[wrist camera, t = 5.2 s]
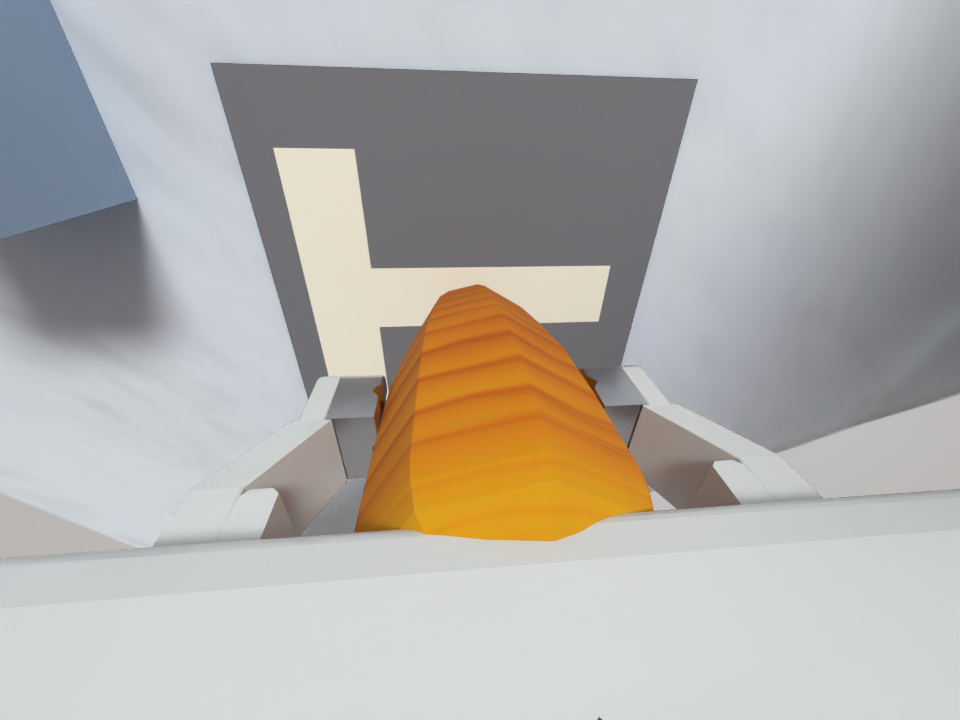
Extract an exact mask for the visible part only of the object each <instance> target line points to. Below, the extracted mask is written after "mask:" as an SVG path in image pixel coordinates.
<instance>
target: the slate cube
mask: <svg viewBox="0 0 960 720" xmlns="http://www.w3.org/2000/svg"><path fill="white" fill-rule="evenodd" d="M136 199H137V197H136V195H135V193H134V190H133V188H132V186H131V183H130V181H129V179H128V177H127V174H126V172H125V170H124V168H123V165H122V163H121V161H120V158H119V156H118V154H117V152H116V149H115V147H114V145H113V143H112V140H111V138H110V136H109V134H108V131H107V129H106V127H105V124H104V122H103V120H102V118H101V115H100V113H99V111H98V109H97V106H96V104H95V102H94V99H93V97H92V95H91V93H90V90H89V88H88V86H87V84H86V81H85V79H84V77H83V74H82V72H81V70H80V68H79V65H78V63H77V61H76V59H75V56H74V54H73V52H72V50H71V47H70V45H69V43H68V40H67V38H66V36H65V34H64V31H63V29H62V27H61V25H60V22H59V20H58V18H57V15H56V13H55V11H54V9H53V6H52V4H51V2H50V0H0V239H3V238H7V237H10V236H13V235H17V234H20V233H24V232H27V231H30V230H34V229H37V228H41V227H44V226H47V225H51V224H54V223H58V222H61V221H64V220H68V219H71V218H75V217H78V216H81V215H85V214H88V213H92V212H95V211H99V210H102V209H105V208H109V207H112V206H116V205H119V204H122V203H126V202H129V201H133V200H136Z"/></svg>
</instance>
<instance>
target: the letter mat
mask: <svg viewBox="0 0 960 720" xmlns="http://www.w3.org/2000/svg"><path fill="white" fill-rule="evenodd" d="M211 67H212V70H213V74H214V77H215V81H216V84H217V87H218V91H219V94H220V98H221V101H222V105H223V108H224V111H225V115H226V118H227V122H228V125H229V129H230V132H231V136H232V139H233V142H234V146H235V149H236V153H237V156H238V160H239V163H240V166H241V170H242V173H243V177H244V180H245V184H246V187H247V190H248V194H249V197H250V201H251V204H252V208H253V211H254V214H255V218H256V221H257V225H258V228H259V232H260V235H261V238H262V242H263V245H264V249H265V252H266V256H267V259H268V262H269V266H270V269H271V273H272V276H273V280H274V283H275V286H276V290H277V293H278V297H279V300H280V304H281V307H282V310H283V314H284V317H285V321H286V324H287V328H288V331H289V335H290V338H291V341H292V345H293V348H294V352H295V355H296V359H297V362H298V365H299V369H300V372H301V376H302V379H303V383H304V386H305V389H306V393H307V396H308V399H309V397H310V395H311V393H312V391H313V389H314V386H315V384H316V382H317V380H318V379H319V378H320V377H327V376H371V375H384V376H385V378H386V384H387V395H386V400H387V396H388V393H389V389H390V387H391V384H392V382H393V380H394V378H395V376H396V374H397V371H398V369H399V367H400V365H401V363H402V361H403V359H404V356H405V355H406V353H407V351H408V349H409V347H410V345H411V344H412V342H413V340H414V338H415V336H416V335H417V333H418V331H419V329H420V328H421V326H422V325H423V323H424V321H425V320H426V318H427V316H428V315H429V313H430V312H431V310H432V308H433V307H434V305H435V304H436V302H437V300H438V299H439V297H440V296H442V295H443V294H445V293H447V292H448V291H451V290H455V289H460V288H464V287H468V286H472V285H476V284H479V285H483V286H486V287H487V288H489V289H491V290H493V291H494V292H496V293H498V294H499V295H501V296H503V297H505V298H506V299H508V300H510V301H511V302H513V303H515V304H517V305H518V306H520V307H522V308H523V309H524V310H525V311H526V312H527V313H528V314H530V315H531V316H532V317H533V318H534V319H535V320H536V321H538V322H539V323H540V324H541V325H542V326H543V327H544V328H545V329H546V330H547V331H548V332H549V333H550V334H551V335H552V336H553V337H554V338H555V339H556V340H557V341H558V342H559V344H560V345H561V346H562V347H563V348H564V349H565V350H566V352H567V353H568V355H569V356H570V358H571V359H572V361H573V362H574V364H575V365H576V367H577V368H578V370H579V369H582V368H602V367H617V366H621V362H622V359H623V355H624V351H625V347H626V344H627V340H628V336H629V333H630V329H631V325H632V322H633V318H634V314H635V310H636V307H637V303H638V299H639V296H640V292H641V288H642V284H643V281H644V277H645V273H646V270H647V266H648V262H649V259H650V255H651V251H652V247H653V244H654V240H655V236H656V233H657V229H658V225H659V221H660V218H661V214H662V210H663V207H664V203H665V199H666V196H667V192H668V188H669V184H670V181H671V177H672V173H673V170H674V166H675V162H676V158H677V155H678V151H679V147H680V144H681V140H682V136H683V133H684V129H685V125H686V121H687V118H688V114H689V110H690V107H691V103H692V99H693V95H694V92H695V88H696V84H697V81H698V79H672V78H643V77H613V76H584V75H555V74H526V73H497V72H467V71H438V70H409V69H380V68H351V67H321V66H292V65H263V64H234V63H211Z"/></svg>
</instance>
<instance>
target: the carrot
mask: <svg viewBox="0 0 960 720" xmlns="http://www.w3.org/2000/svg"><path fill="white" fill-rule="evenodd" d="M647 511H653V506H652V501H651V496H650V491H649V489H648V486H647V484H646V482H645V479H644V477H643V475H642V472H641V470H640V468H639V466H638V465H637V463H636V461H635V460H634V458H633V456H632V455H631V453H630V451H629V450H628V448H627V446H626V445H625V443H624V442H623V440H622V438H621V437H620V435H619V433H618V432H617V430H616V428H615V427H614V425H613V423H612V422H611V420H610V418H609V417H608V415H607V414H606V412H605V410H604V409H603V407H602V405H601V404H600V402H599V400H598V399H597V397H596V395H595V394H594V392H593V391H592V389H591V388H590V386H589V385H588V383H587V382H586V380H585V379H584V377H583V376H582V374H581V373H580V371H579V370H578V368H577V367H576V365H575V364H574V362H573V361H572V359H571V358H570V356H569V355H568V353H567V352H566V350H565V349H564V348H563V347H562V346H561V345H560V344H559V342H558V341H557V340H556V339H555V338H554V337H553V336H552V335H551V334H550V333H549V332H548V331H547V330H546V329H545V328H544V327H543V326H542V325H541V324H540V323H539V322H538V321H536V320H535V319H534V318H533V317H532V316H531V315H530V314H528V313H527V312H526V311H525V310H524V309H523V308H522V307H520V306H518V305H517V304H515V303H513V302H511V301H510V300H508V299H506V298H505V297H503V296H501V295H499V294H498V293H496V292H494V291H493V290H491V289H489V288H487V287H486V286H483V285H479V284H476V285H472V286H468V287H464V288H460V289H455V290H451V291H448V292H447V293H445V294H443V295H442V296H440V297H439V299H438V300H437V302H436V304H435V305H434V307H433V308H432V310H431V312H430V313H429V315H428V316H427V318H426V320H425V321H424V323H423V325H422V326H421V328H420V329H419V331H418V333H417V335H416V336H415V338H414V340H413V342H412V344H411V345H410V347H409V349H408V351H407V353H406V355H405V356H404V359H403V361H402V363H401V365H400V367H399V369H398V371H397V374H396V376H395V378H394V380H393V382H392V384H391V387H390V389H389V393H388V396H387V400H386V404H385V408H384V411H383V415H382V419H381V422H380V426H379V430H378V433H377V437H376V441H375V444H374V449H373V453H372V457H371V462H370V466H369V470H368V475H367V479H366V483H365V488H364V492H363V497H362V501H361V505H360V510H359V514H358V518H357V523H356V527H355V532H369V531H383V530H397V529H410V530H414V531H418V532H421V533H423V534H428V535H443V536H453V537H463V538H473V539H484V540H517V541H557V540H560V539H562V538H565V537H568V536H571V535H574V534H577V533H580V532H581V531H583V530H585V529H586V528H588V527H590V526H591V525H593V524H595V523H597V522H599V521H602V520H604V519H606V518H609V517H613V516H617V515H620V514H625V513H633V512H647ZM597 720H602V719H601V718H600V717H599V718H598V719H597Z"/></svg>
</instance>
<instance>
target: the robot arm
mask: <svg viewBox="0 0 960 720" xmlns="http://www.w3.org/2000/svg"><path fill="white" fill-rule="evenodd" d="M579 371H580V373H581V374H582V376H583V377H584V379H585V380H586V382H587V383H588V385H589V386H590V388H591V389H592V391H593V392H594V394H595V395H596V397H597V399H598V400H599V402H600V404H601V405H602V407H603V409H604V410H605V412H606V414H607V415H608V417H609V418H610V420H611V422H612V423H613V425H614V427H615V428H616V430H617V432H618V433H619V435H620V437H621V438H622V440H623V442H624V443H625V445H626V446H627V448H628V450H629V451H630V453H631V455H632V456H633V458H634V460H635V461H636V463H637V465H638V466H639V468H640V470H641V472H642V475H643V477H644V479H645V482H646V483H647V484H648V485H649V486H650V487H652V488H653V489H654V490H655V491H656V492H658V493H659V494H660V495H661V496H662V497H663V498H665V499H666V500H667V501H668V502H669V503H671V504H672V505H673V506H674V507H675V508H676V510H661V511H647V512H633V513H625V514H620V515H617V516H613V517H609V518H606V519H604V520H602V521H599V522H597V523H595V524H593V525H591V526H590V527H588V528H586V529H585V530H583V531H581V532H580V533H577V534H574V535H571V536H568V537H565V538H562V539H560V540H557V541H517V540H484V539H473V538H463V537H453V536H443V535H428V534H423V533H421V532H418V531H414V530H410V529H397V530H383V531H369V532H355V533H341V534H328V535H314V536H300V535H301V534H302V533H303V531H304V530H305V529H306V528H307V527H308V526H309V524H310V523H311V522H312V521H313V520H314V519H315V517H316V516H317V515H318V514H319V513H320V512H321V511H322V509H323V508H324V507H325V506H326V505H327V504H328V502H329V501H330V500H331V499H332V498H333V497H334V496H335V494H336V493H337V492H338V491H339V490H340V489H341V487H342V486H343V485H344V484H345V483H346V482H347V479H351V478H363V477H367V475H368V470H369V466H370V462H371V457H372V453H373V449H374V444H375V441H376V437H377V433H378V430H379V426H380V422H381V419H382V415H383V411H384V408H385V404H386V395H387V384H386V378H385V376H384V375H371V376H327V377H320V378H319V379H318V380H317V382H316V384H315V386H314V389H313V391H312V393H311V395H310V397H309V399H308V402H307V404H306V406H305V408H304V410H303V413H302V415H301V417H300V419H299V421H292V422H290V423H289V424H287V425H286V426H285V427H283V428H282V429H280V430H279V431H277V432H276V433H274V434H273V435H271V436H270V437H268V438H267V439H265V440H264V441H262V442H261V443H260V444H258V445H257V446H255V447H254V448H252V449H251V450H249V451H248V452H246V453H245V454H243V455H242V456H240V457H239V458H237V459H236V460H234V461H233V462H232V463H230V464H229V465H227V466H226V467H224V468H223V469H221V470H220V471H218V472H217V473H215V474H214V475H212V476H211V477H209V478H208V479H207V480H205V481H204V482H202V483H201V484H199V485H198V486H196V487H195V488H193V489H192V490H190V491H189V493H188V494H187V496H186V497H185V499H184V500H183V502H182V503H181V505H180V506H179V508H178V509H177V511H176V512H175V514H174V515H173V517H172V518H171V520H170V521H169V523H168V524H167V526H166V527H165V529H164V530H163V532H162V533H161V535H160V536H159V538H158V539H157V541H156V542H155V544H154V546H153V547H147V548H134V549H120V550H106V551H92V552H78V553H64V554H50V555H37V556H23V557H9V558H0V720H597V719H598V718H599V717H600V718H601V719H602V720H960V489H953V490H938V491H924V492H910V493H897V494H882V495H869V496H856V497H841V498H827V499H823V498H822V497H821V496H820V495H819V494H818V493H817V492H816V491H815V490H814V489H813V488H812V487H811V486H810V485H809V484H808V483H807V482H806V481H805V480H804V479H803V478H802V477H801V476H800V475H799V474H798V473H797V472H796V471H795V470H794V469H793V468H792V467H791V466H790V465H789V464H788V463H787V462H786V461H785V460H784V459H783V458H782V457H781V456H780V455H778V454H776V453H774V452H772V451H770V450H768V449H766V448H764V447H762V446H760V445H758V444H756V443H754V442H752V441H750V440H748V439H746V438H744V437H742V436H740V435H738V434H736V433H734V432H732V431H730V430H728V429H726V428H724V427H722V426H720V425H718V424H716V423H714V422H712V421H710V420H708V419H706V418H704V417H702V416H700V415H698V414H696V413H694V412H692V411H690V410H688V409H686V408H684V407H682V406H680V405H678V404H670V403H669V402H668V400H667V399H666V398H665V397H664V395H663V394H662V393H661V392H660V390H659V389H658V388H657V387H656V385H655V384H654V383H653V382H652V380H651V379H650V378H649V377H648V375H647V374H646V373H645V372H644V370H643V369H642V368H641V367H640V366H637V365H629V366H617V367H602V368H582V369H579ZM299 536H300V537H299Z"/></svg>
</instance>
